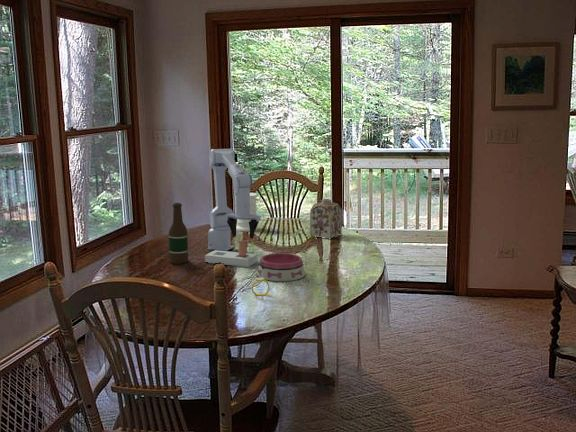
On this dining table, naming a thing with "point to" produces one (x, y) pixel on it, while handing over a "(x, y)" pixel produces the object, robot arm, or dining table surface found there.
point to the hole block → (230, 258)
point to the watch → (260, 281)
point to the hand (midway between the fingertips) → (243, 237)
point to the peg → (242, 249)
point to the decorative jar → (325, 219)
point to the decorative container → (244, 224)
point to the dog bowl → (281, 267)
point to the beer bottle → (178, 237)
